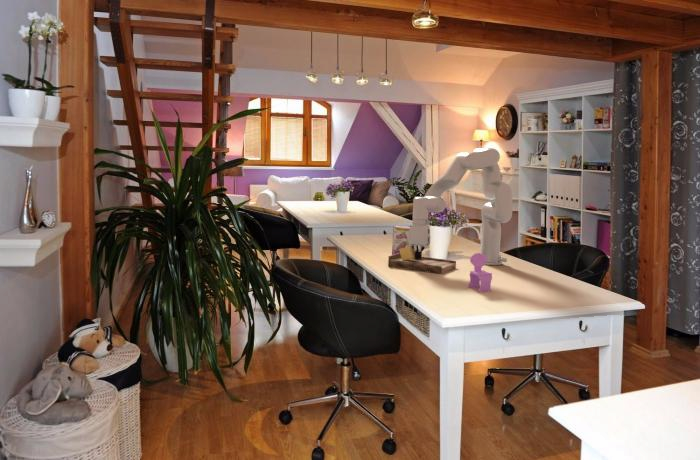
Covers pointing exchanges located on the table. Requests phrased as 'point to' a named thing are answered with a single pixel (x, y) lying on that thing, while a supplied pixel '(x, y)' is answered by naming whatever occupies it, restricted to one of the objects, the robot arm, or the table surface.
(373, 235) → the table surface
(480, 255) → the toy chair
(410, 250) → the block
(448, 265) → the brown wooden tray
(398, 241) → the candy bar box
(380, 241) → the table surface
